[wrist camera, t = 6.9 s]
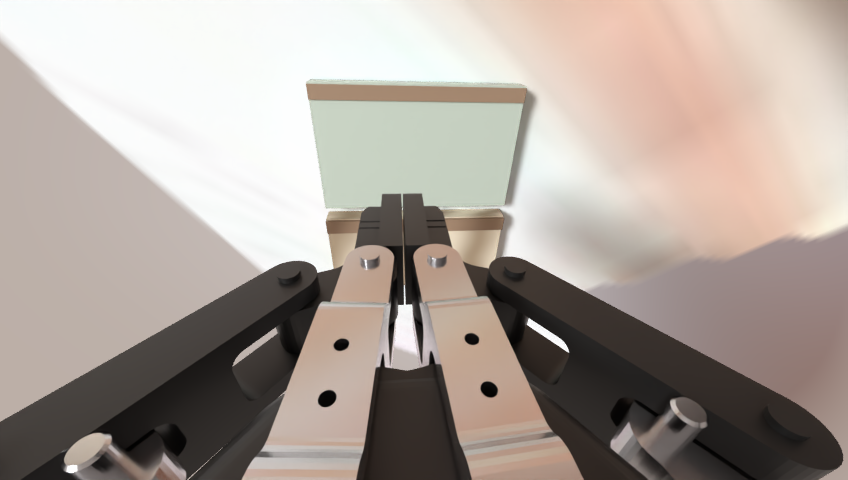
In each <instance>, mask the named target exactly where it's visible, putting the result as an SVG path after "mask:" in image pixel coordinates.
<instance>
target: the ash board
mask: <svg viewBox="0 0 848 480" xmlns="http://www.w3.org/2000/svg"><path fill="white" fill-rule="evenodd" d="M441 211H442V212H443V214H444V218H445V221H446V225H447V229H448V233H449V236H450V240H451V244H452V248H454V249H455V250H456V251H457V252H458V253H459V254H460V256H461V258H462V261H464V262H466V263H468V264H471V265H474V266H479V267H484V268H489V266H490V264H491V262H492V261H493V260H495V259H496V253H497V248H498V243H499V237H500V232H501V230H502V228H503V222H504V218H503V215H502V213H501V212H500V210H499V209H455V210H441ZM362 212H363V211H335V212H329V213H328V216H327V219H326V226H327V233H328V234H329V240H330V247H331V253H332V260H333V266H334V269H335V268H338V267H340V266H342V265H343V264H344V261H345V259H346V256H347V255H348V254H349V253H350V252H351V251H352V250H354V249H355V244H356V239H357V233H358V229H359V223H360V217H361V213H362ZM402 228H403V210H402ZM403 277H404V285H405V270H404V245H403Z"/></svg>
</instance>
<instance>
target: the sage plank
mask: <svg viewBox="0 0 848 480" xmlns="http://www.w3.org/2000/svg"><path fill="white" fill-rule="evenodd" d="M306 87H307V93H308V100H309V103H310V110H311V116H312V123H313V129H314V135H315V142H316V148H317V155H318V161H319V168H320V174H321V181H322V187H323V194H324V200H325V207H326V208H367V207H380V206H381V200H382V194H401V201H402V207H403V194H407V193H422V197H423V203H424V206H437V207H442V206H504V204H505V199H506V194H507V188H508V183H509V178H510V172H511V167H512V161H513V156H514V151H515V145H516V140H517V135H518V129H519V124H520V119H521V113H522V108H523V103H524V101H525V96H526V91H527V88H526V86H524V85H521V84H505V83H458V82H412V81H365V80H319V79H310V80H309V81H307V82H306Z"/></svg>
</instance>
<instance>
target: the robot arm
mask: <svg viewBox="0 0 848 480" xmlns="http://www.w3.org/2000/svg"><path fill="white" fill-rule="evenodd" d="M403 245H404V270H405V296H406V304H412V306H413V329H414V336H415V342H416V348H417V354H418V360H419V366H420V368H417V369H414V370H409V371H405V370H399V369H393V368H392V364H393V353H394V342H395V332H396V318H397V315H398V305H404V277H403ZM528 318H530V319H531V320H533V321H535V322H536V323H538V324H539V325H541V326H542V327H544V328H545V329H547V330H548V331H550V332H551V333H553V334H555V335H556V336H558V337H559V338H560V339H562V340H563V341H564V342H565V344H566V345H567V347H568V349H569V353H568V352H566V351H565V350H563V349H562V348H560V347H559V346H557V345H556V344H554V343H553V342H551V341H550V340H548V339H547V338H545V337H544V336H542V335H541V334H539V333H538V332H536V331H535V330H533V329H532V328H530V327H529V326H527V322H528ZM275 327H276V329H277V332H278V334H277V335H275V336H274V337H273V338H271V339H270V340H268V341H267V342H266V343H264V344H263V345H262V346H260V347H259V348H258V349H256V350H255V351H254V352H252V353H251V354H249V355H248V356H247V357H245V358H244V359H243V360H241V361H240V362H239V363H237V364H236V365H235V366H233V367H232V365H233V362H234V361H235V359H236V357H237V356H238V355H239V354H240V353H241V352H242V351H243V350H244V349H246V348H247V347H249V346H250V345H252V344H253V343H254V342H255V341H257V340H259V339H260V338H261V337H263V336H264V335H265V334H267V333H268V332H270V331H271V330H272V329H274V328H275ZM284 391H286V392H285V394H283V395H282V396H280V395H281V394H282V393H283V392H284ZM279 396H280V397H279ZM222 447H223V448H222ZM221 448H222V449H221ZM220 449H221V450H220ZM219 450H220V451H219ZM218 451H219V452H218ZM217 452H218V453H217ZM216 453H217V454H216ZM214 455H215V456H214ZM212 456H213V457H212ZM211 457H212V458H211ZM210 458H211V459H210ZM209 459H210V460H209ZM208 460H209V461H208ZM207 461H208V462H207ZM206 462H207V463H206ZM842 462H843V453H842V450H841V448H840V445H839V444H838V442H837V440H836V439H835V438H834V436H833V435H832V434H831V432H830V431H829V430H828V429H827V428H826V427H825V426H824V425H823V424H822V423H821V422H820V421H819V420H818V419H817V418H815V417H814V416H813V415H812V414H810V413H809V412H808V411H806V410H805V409H804V408H802V407H801V406H799V405H798V404H796V403H795V402H793V401H791V400H789V399H787V398H785V397H784V396H782V395H780V394H778V393H776V392H774V391H772V390H770V389H769V388H767V387H765V386H763V385H761V384H759V383H757V382H755V381H753V380H751V379H750V378H748V377H745V376H744V375H742V374H740V373H738V372H736V371H734V370H732V369H731V368H729V367H727V366H725V365H723V364H721V363H719V362H717V361H715V360H714V359H712V358H710V357H708V356H706V355H704V354H702V353H700V352H698V351H697V350H694V349H693V348H691V347H689V346H687V345H685V344H683V343H681V342H679V341H678V340H675V339H674V338H672V337H670V336H668V335H666V334H664V333H662V332H660V331H659V330H657V329H655V328H653V327H651V326H649V325H647V324H645V323H643V322H642V321H640V320H638V319H636V318H634V317H632V316H630V315H628V314H626V313H624V312H622V311H621V310H618V309H617V308H615V307H613V306H611V305H609V304H607V303H606V302H604V301H602V300H600V299H598V298H596V297H594V296H592V295H590V294H588V293H587V292H585V291H583V290H581V289H579V288H577V287H575V286H573V285H571V284H569V283H568V282H566V281H564V280H562V279H560V278H558V277H556V276H554V275H552V274H551V273H549V272H547V271H545V270H543V269H541V268H539V267H537V266H535V265H533V264H532V263H530V262H528V261H526V260H523V259H520V258H516V257H500V258H497V259H495V260H493V261H492V262H491V264H490V266H489V268H484V267H479V266H474V265H471V264H468V263H466V262H464V261H462V258H461V256H460V254H459V253H458V252H457V251H456V250H455V249H454V248H452V244H451V240H450V236H449V233H448V229H447V225H446V221H445V218H444V214H443V212H442V211H441V210H440V209H439V208H438V207H437V206H424V203H423V197H422V193H407V194H403V228H402V201H401V194H382V200H381V206H380V207H367V208H366V209H365V210H364V211H363V212H362V213H361V217H360V223H359V229H358V233H357V239H356V244H355V249H354V250H352V251H351V252H350V253H349V254H348V255H347V256H346V259H345V261H344V264H343V265H342V266H340V267H338V268H335V269H332V270H328V271H324V272H320V273H317V270H316V268H315V267H314V266H313V265H312V264H310V263H308V262H304V261H291V262H286V263H282V264H279V265H277V266H275V267H273V268H271V269H269V270H268V271H266V272H264V273H262V274H261V275H259V276H257V277H255V278H254V279H252V280H250V281H248V282H247V283H245V284H243V285H241V286H239V287H238V288H236V289H234V290H232V291H231V292H229V293H227V294H225V295H224V296H222V297H220V298H218V299H216V300H215V301H213V302H211V303H210V304H208V305H206V306H204V307H202V308H201V309H199V310H197V311H195V312H194V313H192V314H190V315H188V316H186V317H185V318H183V319H181V320H179V321H178V322H176V323H174V324H172V325H171V326H169V327H167V328H165V329H164V330H162V331H160V332H158V333H156V334H155V335H153V336H151V337H150V338H148V339H146V340H144V341H142V342H141V343H139V344H137V345H135V346H134V347H132V348H130V349H128V350H126V351H125V352H123V353H121V354H119V355H118V356H116V357H114V358H112V359H111V360H109V361H107V362H105V363H103V364H102V365H100V366H98V367H97V368H95V369H93V370H91V371H89V372H88V373H86V374H84V375H83V376H80V377H79V378H77V379H75V380H74V381H72V382H70V383H68V384H66V385H65V386H63V387H61V388H59V389H58V390H56V391H54V392H52V393H51V394H49V395H47V396H45V397H43V398H42V399H40V400H38V401H36V402H35V403H33V404H31V405H29V406H28V407H26V408H24V409H22V410H21V411H19V412H17V413H15V414H13V415H12V416H10V417H8V418H6V419H5V420H3V421H1V422H0V480H187V479H188V478H189V477H190V476H191V475H192V474H193V473H195V472H196V471H197V470H198V469H199V468H200V467H201V466H202V465H204V464H205V463H206V464H205V465H204V466H203V467H202V468H201V469H200V470H199V471H197V472H196V473H195V474H194V475H193V476H192V477H191V478H190V479H189V480H819V479H820V478H822V477H824V476H825V475H827V474H829V473H830V472H832V471H834V470H835V469H837V468H838V467H839V466H840V465H842Z"/></svg>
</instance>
